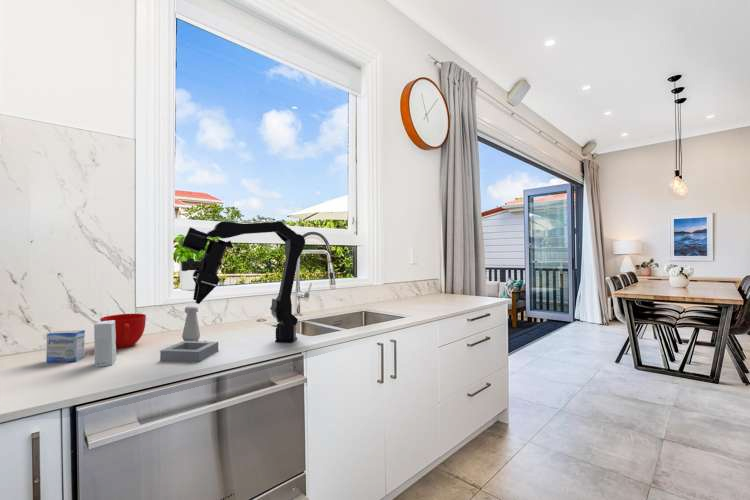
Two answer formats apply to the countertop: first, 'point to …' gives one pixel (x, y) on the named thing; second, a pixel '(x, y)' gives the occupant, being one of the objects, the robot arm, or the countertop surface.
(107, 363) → the skincare box
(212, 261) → the robot arm
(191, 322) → the salt shaker
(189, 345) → the grey square tray
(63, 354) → the medicine box
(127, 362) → the countertop surface
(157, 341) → the countertop surface
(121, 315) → the ceramic cup
